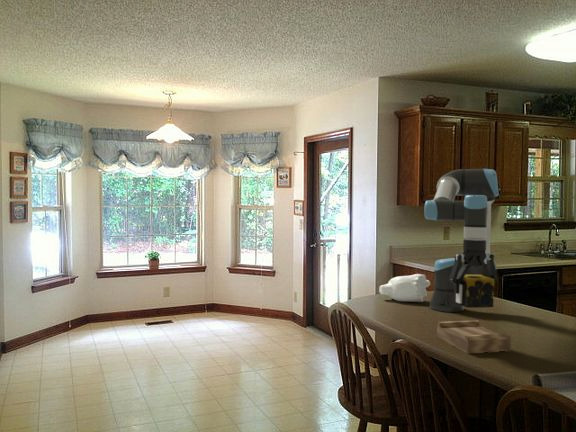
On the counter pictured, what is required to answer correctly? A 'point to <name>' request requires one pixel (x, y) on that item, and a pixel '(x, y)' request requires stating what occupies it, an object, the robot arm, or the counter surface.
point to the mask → (406, 288)
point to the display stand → (473, 337)
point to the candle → (477, 291)
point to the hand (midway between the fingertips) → (473, 302)
